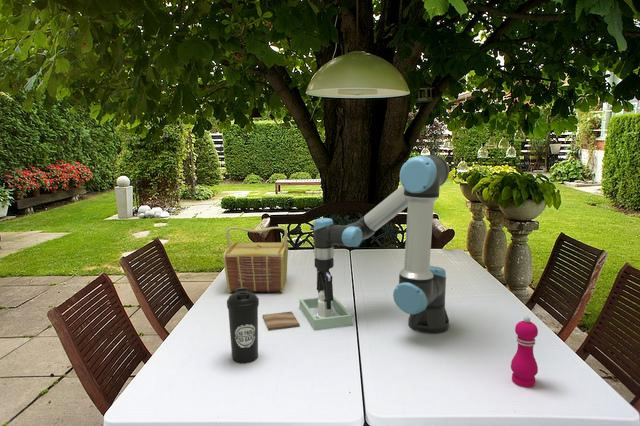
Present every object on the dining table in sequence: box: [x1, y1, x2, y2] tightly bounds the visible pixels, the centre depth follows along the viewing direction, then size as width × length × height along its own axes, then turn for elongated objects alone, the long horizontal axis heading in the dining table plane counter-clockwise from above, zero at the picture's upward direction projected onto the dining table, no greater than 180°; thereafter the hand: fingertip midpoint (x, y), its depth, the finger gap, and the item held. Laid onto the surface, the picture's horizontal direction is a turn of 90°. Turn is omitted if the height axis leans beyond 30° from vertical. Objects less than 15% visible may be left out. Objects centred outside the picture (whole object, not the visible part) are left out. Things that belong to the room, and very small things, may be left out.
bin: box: [299, 295, 353, 331], centre depth 187 cm, size 24×15×4 cm, turn 16°
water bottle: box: [226, 287, 260, 364], centre depth 152 cm, size 10×10×23 cm
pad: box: [262, 311, 301, 331], centre depth 183 cm, size 14×12×1 cm
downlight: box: [315, 290, 335, 319], centre depth 186 cm, size 8×7×10 cm
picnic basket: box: [222, 226, 289, 294], centre depth 222 cm, size 29×26×30 cm
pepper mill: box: [510, 316, 539, 388], centre depth 134 cm, size 7×7×20 cm
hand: (325, 312), depth 187 cm, fingers closed on downlight, 8 cm apart
